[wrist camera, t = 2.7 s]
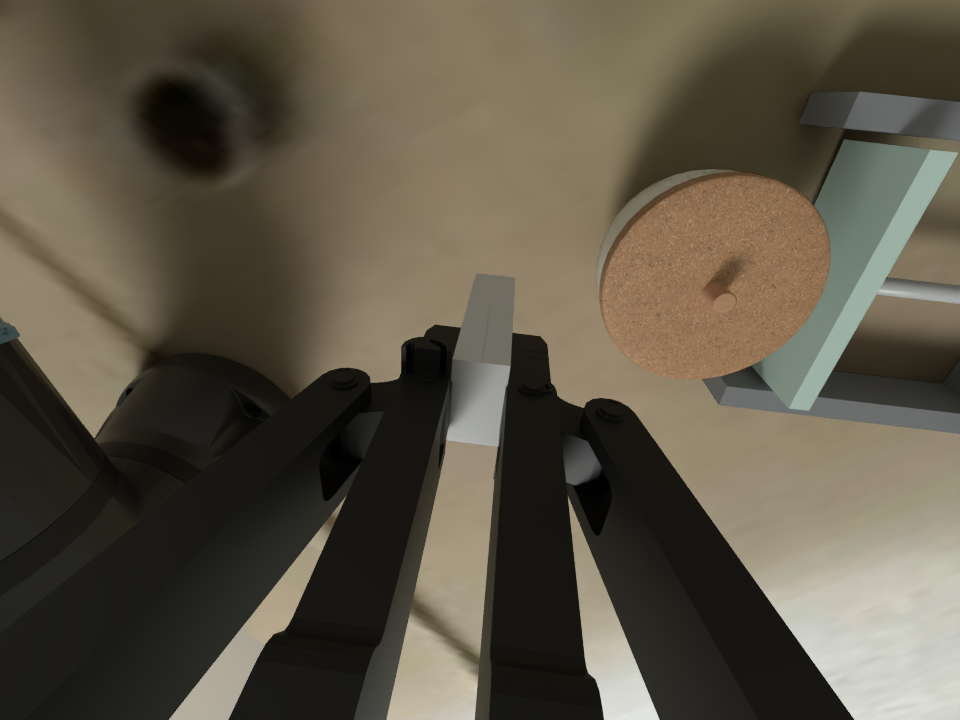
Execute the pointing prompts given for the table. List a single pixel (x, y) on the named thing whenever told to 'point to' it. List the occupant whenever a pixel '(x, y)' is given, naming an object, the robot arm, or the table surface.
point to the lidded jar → (710, 272)
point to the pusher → (859, 257)
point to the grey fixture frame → (853, 394)
